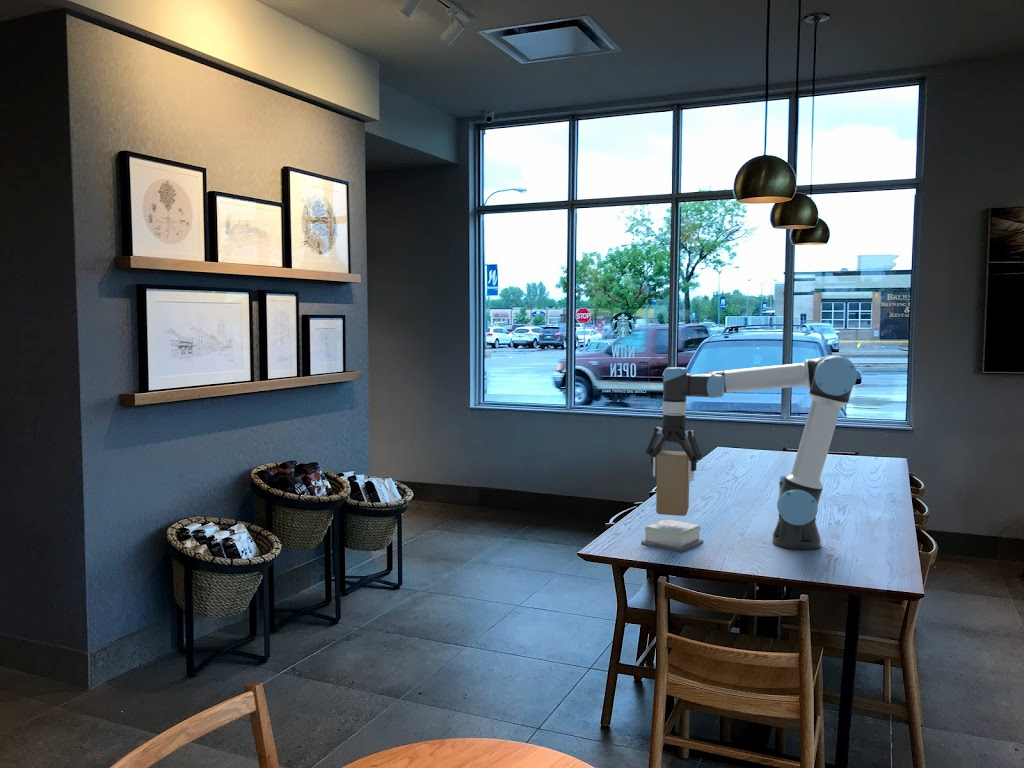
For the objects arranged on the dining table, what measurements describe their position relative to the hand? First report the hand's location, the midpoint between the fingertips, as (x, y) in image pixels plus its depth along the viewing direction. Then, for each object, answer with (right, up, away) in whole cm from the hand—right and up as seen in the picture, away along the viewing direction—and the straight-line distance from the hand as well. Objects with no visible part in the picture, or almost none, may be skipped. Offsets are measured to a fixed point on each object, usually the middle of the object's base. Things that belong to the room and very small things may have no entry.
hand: (673, 478), depth 266 cm
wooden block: (0, -12, +1) cm, 12 cm away
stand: (0, -22, +2) cm, 22 cm away
